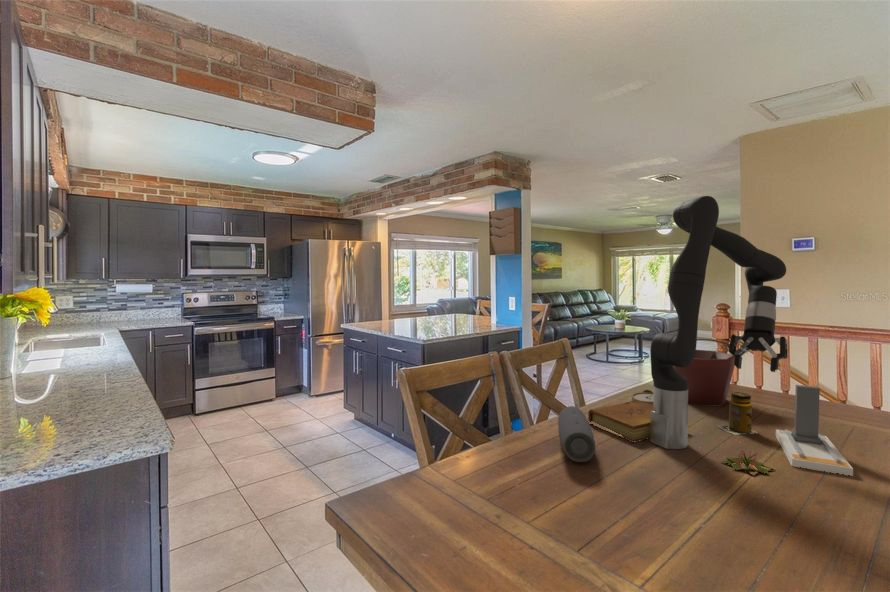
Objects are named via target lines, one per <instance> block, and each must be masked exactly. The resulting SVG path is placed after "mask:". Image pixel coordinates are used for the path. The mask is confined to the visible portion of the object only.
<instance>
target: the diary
mask: <svg viewBox="0 0 890 592" xmlns="http://www.w3.org/2000/svg"><path fill="white" fill-rule="evenodd" d="M651 411H653V405H651V404H648V403H645V402H642V401H638V400H636V401H632V400H631V402H630V401H627V402H626V401H625V402H622V403H618V404H617V403H616V404H613V405H608V406H603V407H597V408H592V409H589V410H588V415H587V416H588V418H587V420H588V421H590V422H591V421H593V422H595V423H597V424H599V425H601V426H603V427H606V428H608V429H610V430H612V431H614V432H616V433H618V434H621V435H622V436H623V437H624V438H627V439H629V440H631V441H633V442H634V441H638V442H640V441H639V440H642V441H644V440H643V439H646V440H648V439H647V438H650V437H651ZM624 438H623V439H624ZM631 441H630V442H631ZM633 442H632V443H633ZM634 443H635V442H634Z"/></svg>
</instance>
